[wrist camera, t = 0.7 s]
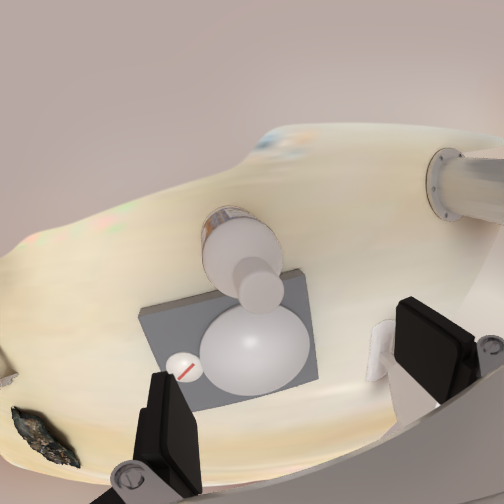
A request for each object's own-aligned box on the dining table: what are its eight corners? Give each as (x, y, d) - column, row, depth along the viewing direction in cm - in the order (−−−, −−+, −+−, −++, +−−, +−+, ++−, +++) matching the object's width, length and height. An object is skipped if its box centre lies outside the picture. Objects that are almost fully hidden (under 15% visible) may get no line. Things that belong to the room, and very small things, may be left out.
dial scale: (298, 268, 40) (308, 277, 36) (313, 369, 45) (321, 383, 41) (140, 308, 37) (136, 321, 34) (182, 403, 42) (182, 419, 39)
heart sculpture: (386, 380, 49) (437, 438, 32) (364, 388, 49) (413, 451, 31) (397, 311, 45) (467, 365, 28) (372, 318, 44) (442, 379, 27)
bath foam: (199, 206, 36) (199, 241, 16) (255, 203, 37) (317, 234, 18) (203, 261, 37) (209, 347, 18) (257, 257, 38) (312, 335, 19)
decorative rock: (91, 479, 41) (39, 474, 37) (93, 458, 46) (43, 456, 43) (44, 427, 34) (-8, 422, 31) (51, 404, 40) (0, 403, 37)
